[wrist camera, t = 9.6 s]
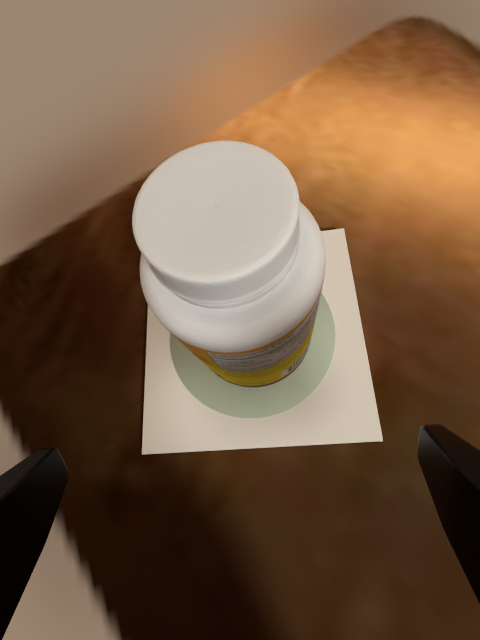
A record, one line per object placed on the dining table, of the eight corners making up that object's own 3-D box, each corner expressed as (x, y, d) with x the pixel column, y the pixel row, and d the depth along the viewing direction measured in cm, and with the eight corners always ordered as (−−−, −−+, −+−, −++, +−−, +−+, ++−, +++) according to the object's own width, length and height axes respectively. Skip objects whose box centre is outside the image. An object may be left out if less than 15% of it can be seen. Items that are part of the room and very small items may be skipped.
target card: (379, 441, 16) (383, 440, 15) (146, 454, 17) (140, 454, 16) (342, 234, 20) (344, 227, 19) (153, 256, 21) (149, 250, 20)
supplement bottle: (197, 292, 19) (102, 133, 9) (301, 278, 18) (315, 93, 9) (203, 397, 17) (89, 333, 7) (319, 384, 16) (363, 297, 7)
